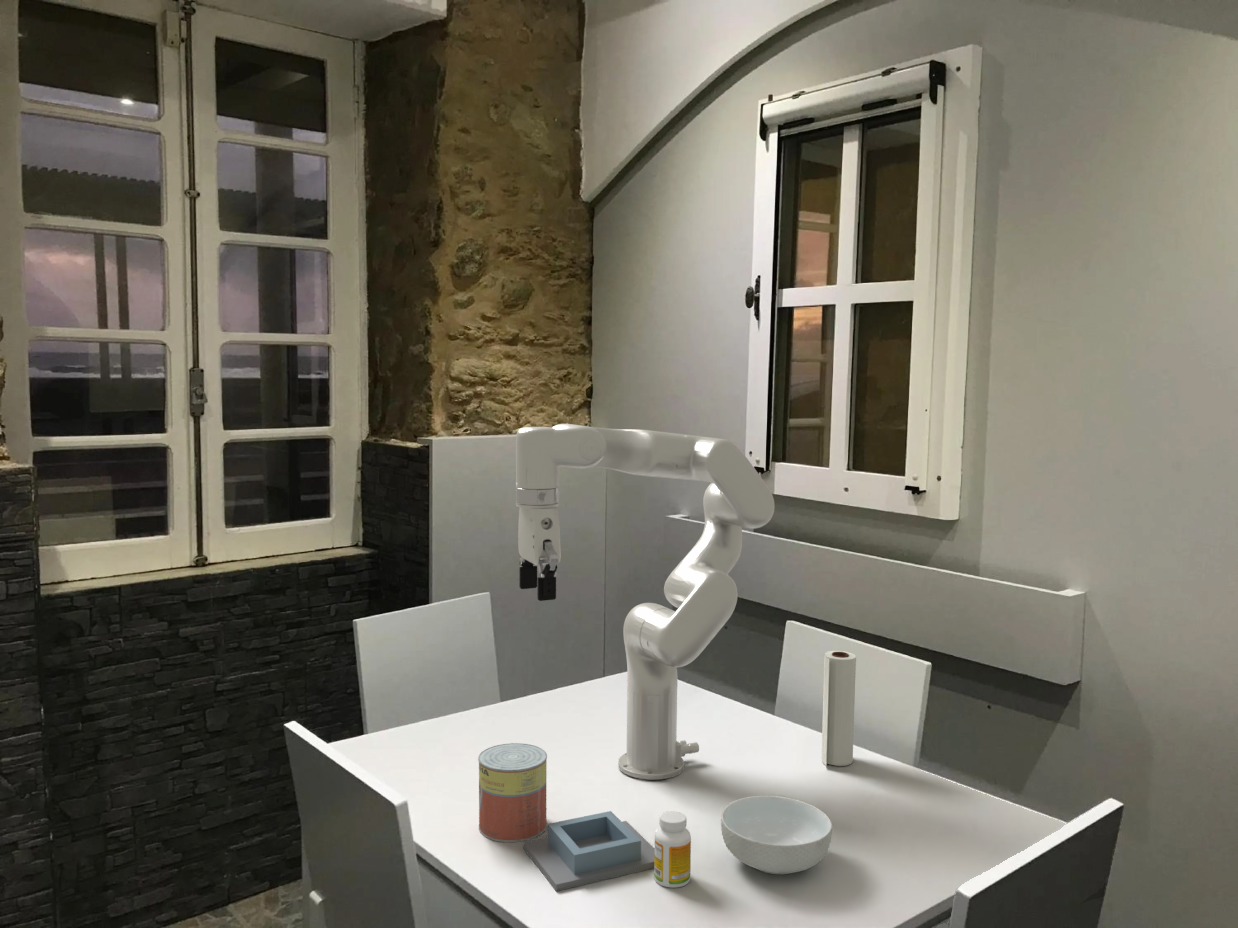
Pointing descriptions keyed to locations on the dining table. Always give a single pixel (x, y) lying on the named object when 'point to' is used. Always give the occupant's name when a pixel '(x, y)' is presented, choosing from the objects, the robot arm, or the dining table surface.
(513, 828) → the canned food
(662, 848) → the supplement bottle
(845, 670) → the paper towel roll
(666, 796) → the dining table surface
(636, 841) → the caddy
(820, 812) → the cereal bowl
